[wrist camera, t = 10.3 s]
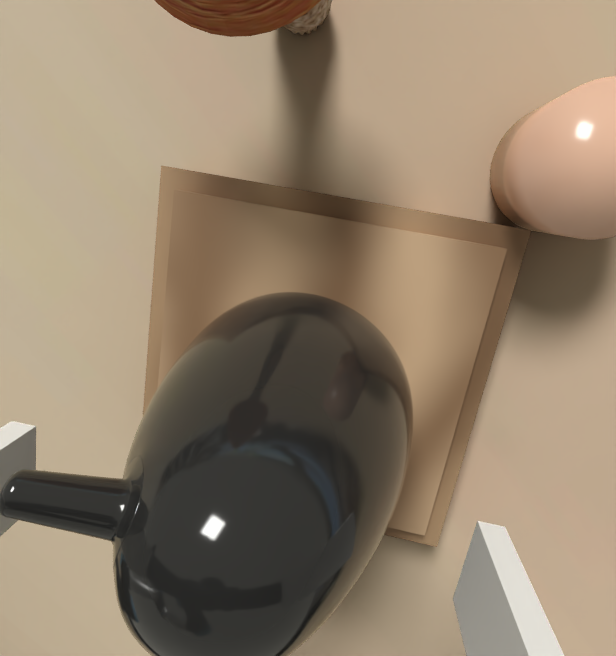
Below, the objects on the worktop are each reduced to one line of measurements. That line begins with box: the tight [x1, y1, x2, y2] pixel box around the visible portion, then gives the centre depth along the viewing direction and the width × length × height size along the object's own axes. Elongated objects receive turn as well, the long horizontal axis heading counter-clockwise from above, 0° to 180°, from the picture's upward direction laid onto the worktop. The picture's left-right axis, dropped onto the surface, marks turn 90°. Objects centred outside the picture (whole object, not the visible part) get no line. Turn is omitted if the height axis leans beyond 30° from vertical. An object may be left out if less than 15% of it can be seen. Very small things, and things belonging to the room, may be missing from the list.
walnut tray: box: [143, 166, 531, 547], centre depth 25 cm, size 18×18×3 cm
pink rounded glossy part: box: [490, 76, 616, 240], centre depth 20 cm, size 6×6×5 cm
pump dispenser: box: [0, 292, 413, 656], centre depth 16 cm, size 10×10×15 cm
